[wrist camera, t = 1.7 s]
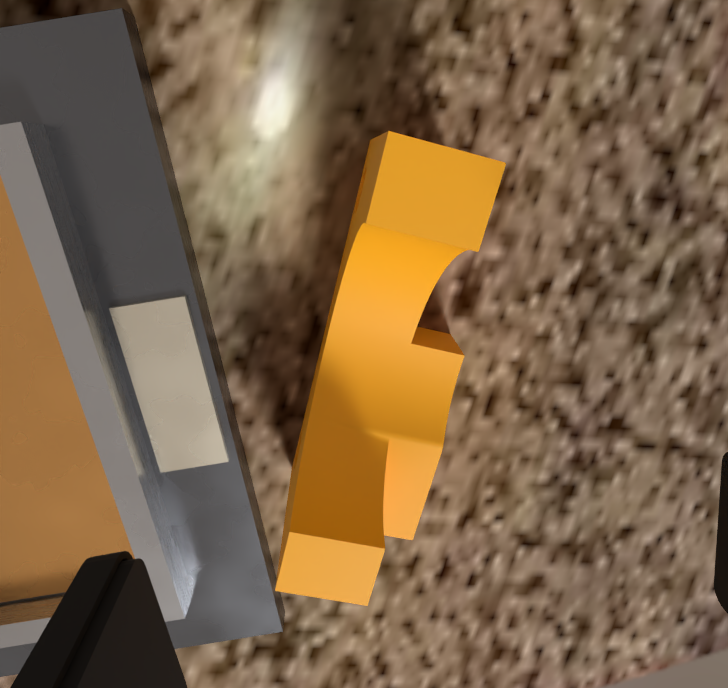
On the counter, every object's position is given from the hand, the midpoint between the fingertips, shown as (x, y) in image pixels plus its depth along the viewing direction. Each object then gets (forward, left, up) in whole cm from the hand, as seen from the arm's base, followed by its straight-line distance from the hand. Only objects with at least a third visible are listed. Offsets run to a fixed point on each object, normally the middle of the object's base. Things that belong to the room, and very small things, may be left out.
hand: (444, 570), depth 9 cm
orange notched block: (0, 0, -12) cm, 12 cm away
